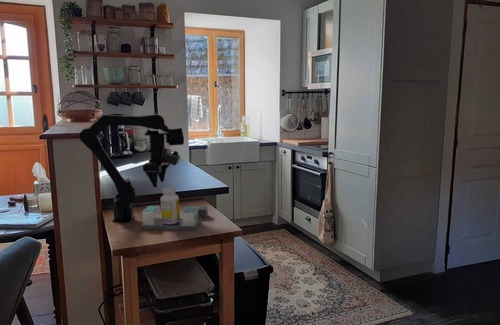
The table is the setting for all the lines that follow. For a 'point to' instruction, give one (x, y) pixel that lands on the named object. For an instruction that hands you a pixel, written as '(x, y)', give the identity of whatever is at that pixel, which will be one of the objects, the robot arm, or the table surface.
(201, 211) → the loose gray rectangular block
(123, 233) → the table surface
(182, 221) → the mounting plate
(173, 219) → the supplement bottle
